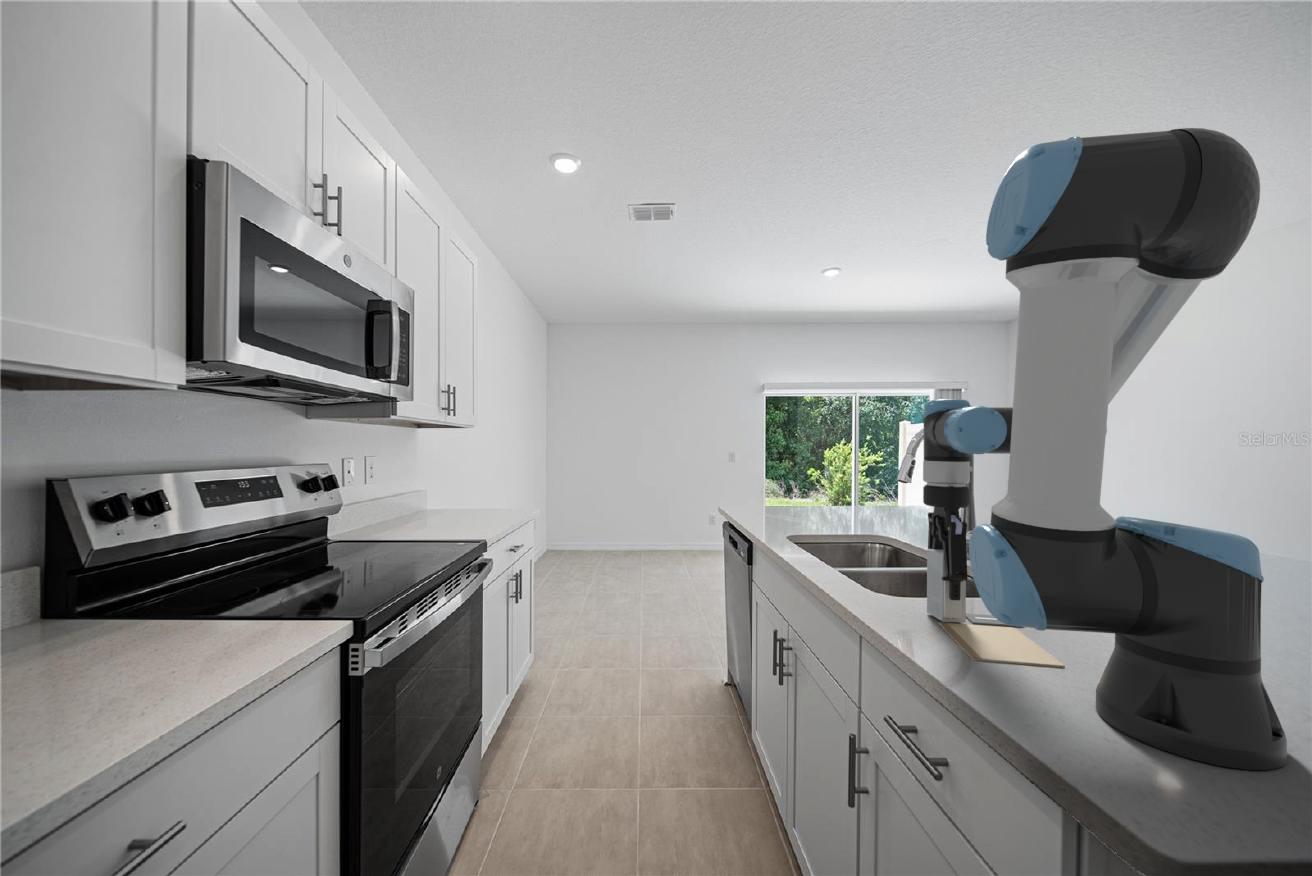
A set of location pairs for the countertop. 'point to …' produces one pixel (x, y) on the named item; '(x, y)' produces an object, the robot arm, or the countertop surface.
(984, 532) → the robot arm
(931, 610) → the skincare box
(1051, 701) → the countertop surface
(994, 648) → the notepad
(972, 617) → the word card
